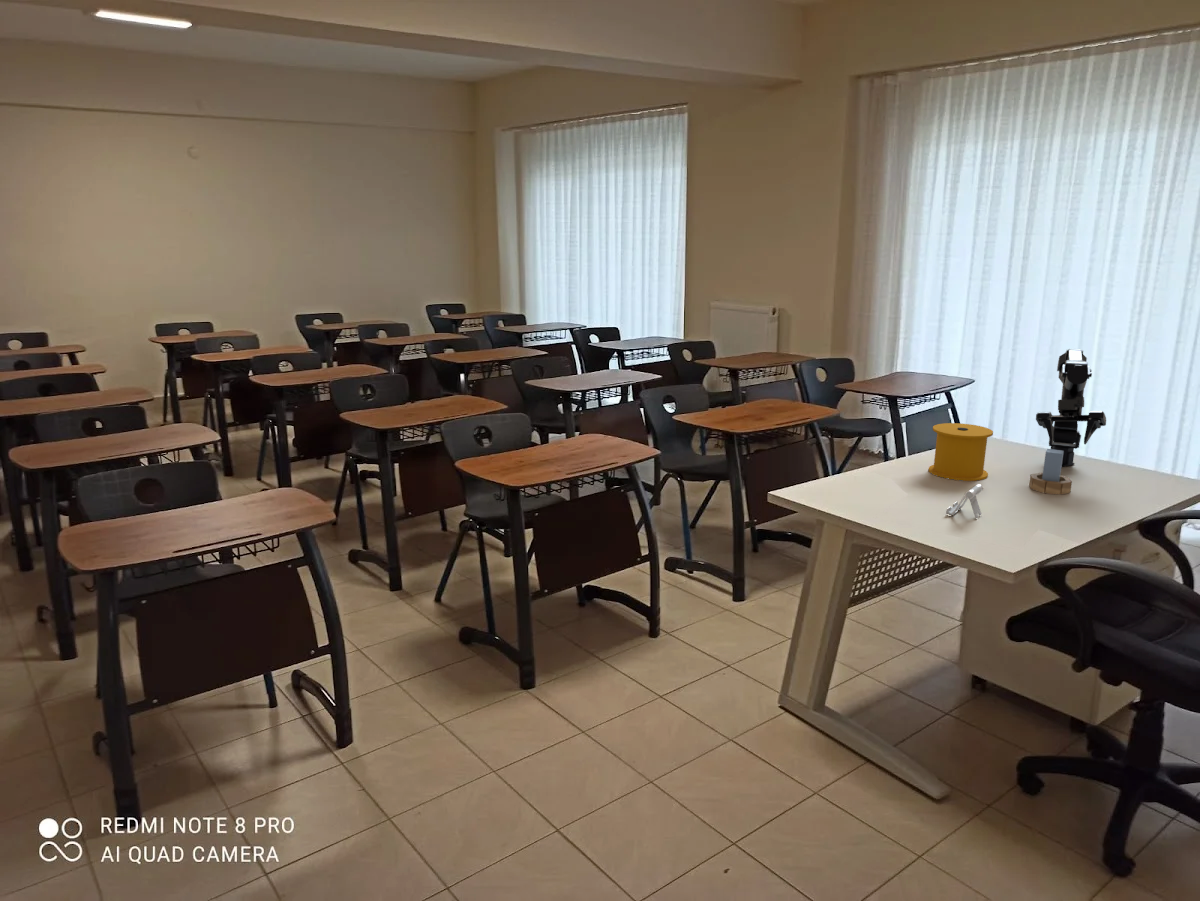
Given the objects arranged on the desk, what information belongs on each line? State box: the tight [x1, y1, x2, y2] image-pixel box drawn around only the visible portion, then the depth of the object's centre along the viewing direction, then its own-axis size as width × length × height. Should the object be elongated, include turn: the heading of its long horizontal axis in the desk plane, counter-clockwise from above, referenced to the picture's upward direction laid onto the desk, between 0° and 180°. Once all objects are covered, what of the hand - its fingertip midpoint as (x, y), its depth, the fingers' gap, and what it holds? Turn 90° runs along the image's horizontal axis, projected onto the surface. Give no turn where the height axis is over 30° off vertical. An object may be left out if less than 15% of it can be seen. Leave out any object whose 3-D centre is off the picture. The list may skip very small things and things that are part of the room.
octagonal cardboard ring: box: [1028, 472, 1073, 496], centre depth 259 cm, size 11×11×4 cm
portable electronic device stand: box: [945, 483, 984, 519], centre depth 235 cm, size 9×8×8 cm
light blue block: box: [1042, 448, 1064, 482], centre depth 258 cm, size 4×4×12 cm
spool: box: [928, 422, 994, 482], centre depth 274 cm, size 18×18×15 cm
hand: (1068, 443), depth 262 cm, fingers open, 9 cm apart
